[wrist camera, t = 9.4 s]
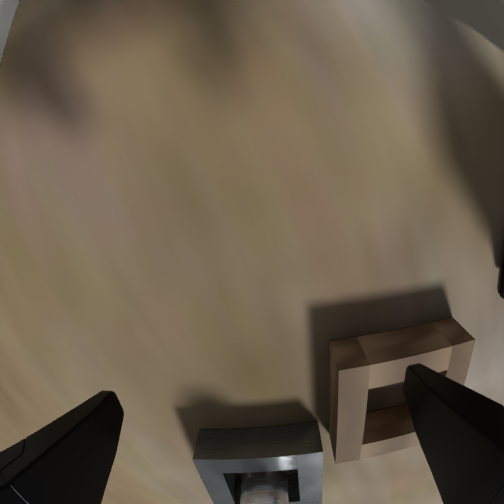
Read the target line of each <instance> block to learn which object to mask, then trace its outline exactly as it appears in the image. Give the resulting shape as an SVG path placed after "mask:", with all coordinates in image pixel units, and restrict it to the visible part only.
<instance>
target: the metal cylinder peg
mask: <svg viewBox="0 0 504 504" xmlns="http://www.w3.org/2000/svg"><path fill="white" fill-rule="evenodd" d="M240 504H289V498H288V478H287V470H282V471H270V472H252V473H242V484H241V497H240Z"/></svg>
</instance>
